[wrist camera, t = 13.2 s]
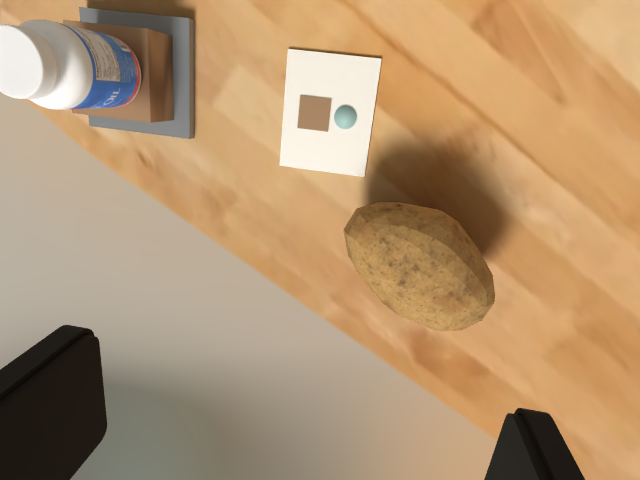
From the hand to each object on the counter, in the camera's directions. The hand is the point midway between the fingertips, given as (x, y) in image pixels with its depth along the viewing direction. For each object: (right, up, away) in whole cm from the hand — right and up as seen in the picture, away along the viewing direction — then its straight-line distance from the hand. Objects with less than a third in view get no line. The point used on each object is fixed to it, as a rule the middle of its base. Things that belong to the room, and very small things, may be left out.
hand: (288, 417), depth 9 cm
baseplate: (-16, +19, +28) cm, 37 cm away
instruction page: (+1, +15, +27) cm, 31 cm away
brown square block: (-16, +19, +27) cm, 37 cm away
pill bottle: (-16, +18, +24) cm, 33 cm away
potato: (+10, +4, +30) cm, 32 cm away
